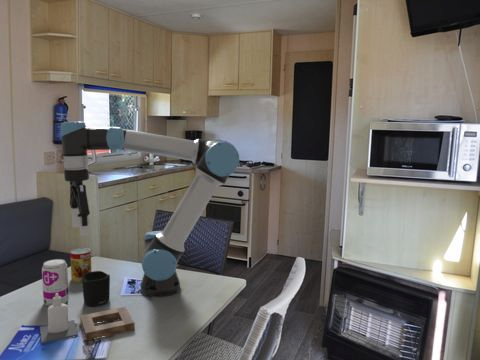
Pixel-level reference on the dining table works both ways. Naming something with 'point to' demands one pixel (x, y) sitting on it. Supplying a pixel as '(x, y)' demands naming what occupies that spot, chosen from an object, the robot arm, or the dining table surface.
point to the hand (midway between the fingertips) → (80, 230)
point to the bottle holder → (110, 328)
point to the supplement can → (55, 281)
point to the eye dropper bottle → (57, 316)
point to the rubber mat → (51, 337)
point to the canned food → (80, 263)
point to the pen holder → (96, 288)
